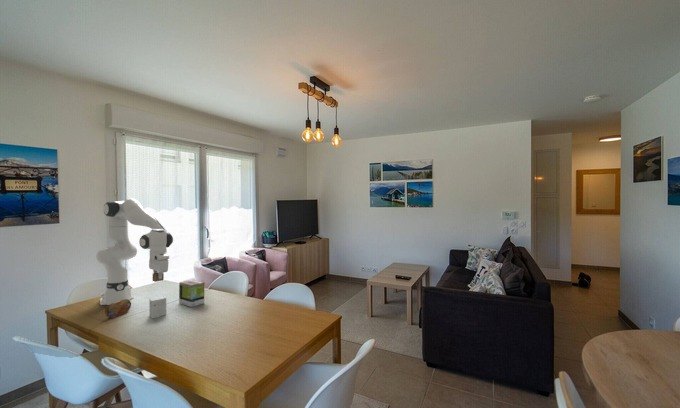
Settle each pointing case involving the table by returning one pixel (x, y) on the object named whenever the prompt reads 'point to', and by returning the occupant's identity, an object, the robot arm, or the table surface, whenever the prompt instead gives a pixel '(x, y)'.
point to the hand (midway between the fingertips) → (158, 277)
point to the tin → (117, 308)
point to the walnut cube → (155, 277)
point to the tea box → (191, 293)
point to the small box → (157, 307)
